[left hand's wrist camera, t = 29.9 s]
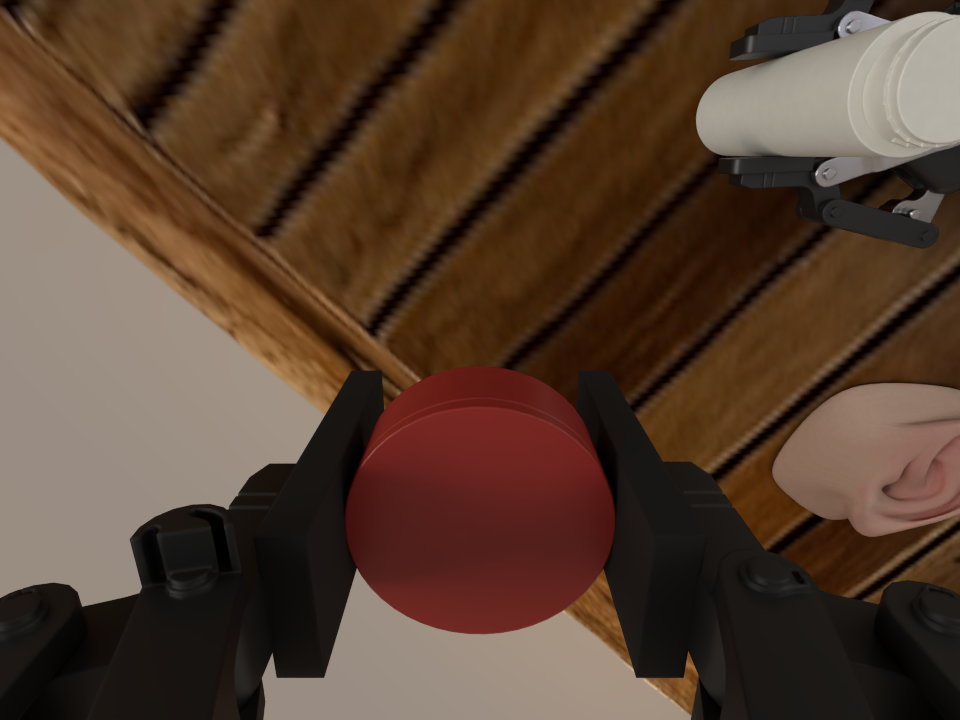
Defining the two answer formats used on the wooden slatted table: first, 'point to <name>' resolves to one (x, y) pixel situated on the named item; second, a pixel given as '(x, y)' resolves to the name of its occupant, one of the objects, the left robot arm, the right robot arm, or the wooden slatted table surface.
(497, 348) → the wooden slatted table surface
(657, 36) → the wooden slatted table surface
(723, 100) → the white bottle
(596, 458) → the lid
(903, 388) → the anatomical model
